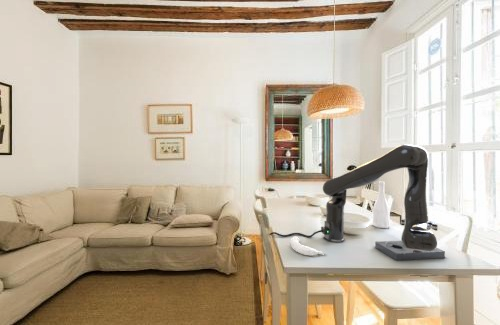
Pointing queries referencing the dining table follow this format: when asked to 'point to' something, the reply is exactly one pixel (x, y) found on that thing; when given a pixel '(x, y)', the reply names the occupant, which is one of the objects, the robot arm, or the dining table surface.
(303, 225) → the dining table surface
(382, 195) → the wine bottle
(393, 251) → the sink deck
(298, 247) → the banana
